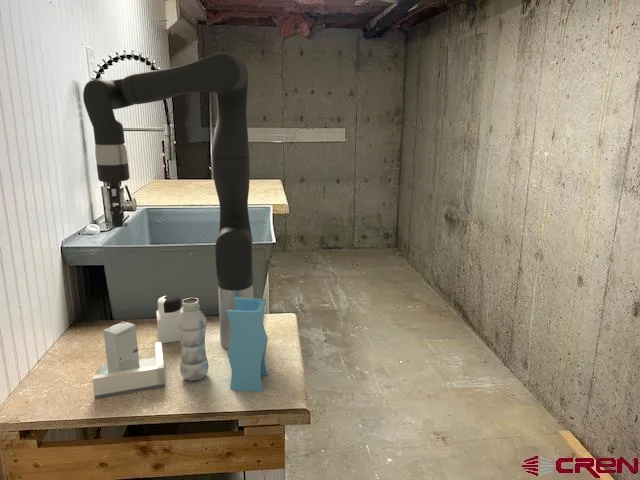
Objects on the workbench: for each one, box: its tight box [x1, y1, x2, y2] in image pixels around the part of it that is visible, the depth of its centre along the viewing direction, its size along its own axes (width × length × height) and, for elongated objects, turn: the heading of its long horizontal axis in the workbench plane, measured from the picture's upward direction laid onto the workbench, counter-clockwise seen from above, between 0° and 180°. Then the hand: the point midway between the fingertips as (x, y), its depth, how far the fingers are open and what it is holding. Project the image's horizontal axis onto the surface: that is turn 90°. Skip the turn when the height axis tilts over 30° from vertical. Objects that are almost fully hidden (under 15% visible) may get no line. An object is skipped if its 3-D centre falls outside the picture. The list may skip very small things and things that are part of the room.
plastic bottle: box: [178, 297, 210, 382], centre depth 113 cm, size 6×7×20 cm
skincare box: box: [102, 320, 140, 373], centre depth 113 cm, size 6×4×12 cm
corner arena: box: [92, 341, 166, 399], centre depth 114 cm, size 15×13×5 cm
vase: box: [226, 297, 269, 393], centre depth 111 cm, size 8×8×20 cm
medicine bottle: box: [155, 294, 184, 345], centre depth 133 cm, size 7×7×12 cm
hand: (119, 223), depth 127 cm, fingers open, 8 cm apart
